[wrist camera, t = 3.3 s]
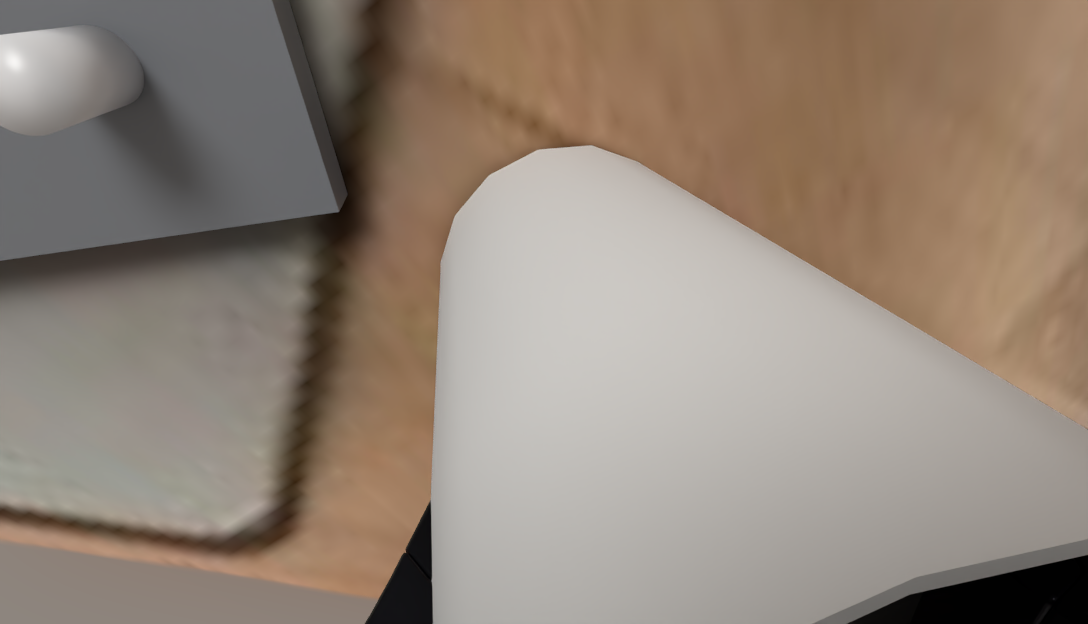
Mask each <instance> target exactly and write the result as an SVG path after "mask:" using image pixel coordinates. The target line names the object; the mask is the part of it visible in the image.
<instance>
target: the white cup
mask: <svg viewBox="0 0 1088 624" xmlns="http://www.w3.org/2000/svg"><path fill="white" fill-rule="evenodd" d="M431 533H432V581H431V582H432V596H433V624H910V622H911V620H912V617H913V615H914V613H915V610H916V608H917V606H918V603H919V601H920V598H921V596H922V594H923V592H924V591H928V590H933V589H937V588H941V587H946V586H950V585H955V584H959V583H964V582H968V581H973V580H977V579H982V578H986V577H991V576H995V575H1000V574H1004V573H1009V572H1013V571H1018V570H1022V569H1027V568H1031V567H1036V566H1040V565H1044V564H1049V563H1053V562H1058V561H1062V560H1067V559H1071V558H1076V557H1080V556H1085V555H1088V429H1086V428H1085V427H1083V426H1081V425H1079V424H1078V423H1076V422H1074V421H1073V420H1071V419H1069V418H1068V417H1066V416H1064V415H1063V414H1061V413H1059V412H1058V411H1056V410H1054V409H1053V408H1051V407H1049V406H1047V405H1046V404H1044V403H1042V402H1041V401H1039V400H1037V399H1036V398H1034V397H1032V396H1031V395H1029V394H1027V393H1026V392H1024V391H1022V390H1021V389H1019V388H1017V387H1015V386H1014V385H1012V384H1010V383H1009V382H1007V381H1005V380H1004V379H1002V378H1000V377H999V376H997V375H995V374H994V373H992V372H990V371H989V370H987V369H985V368H984V367H982V366H980V365H978V364H977V363H975V362H973V361H972V360H970V359H968V358H967V357H965V356H963V355H962V354H960V353H958V352H957V351H955V350H953V349H952V348H950V347H948V346H946V345H945V344H943V343H941V342H940V341H938V340H936V339H935V338H933V337H931V336H930V335H928V334H926V333H925V332H923V331H921V330H920V329H918V328H916V327H914V326H913V325H911V324H909V323H908V322H906V321H904V320H903V319H901V318H899V317H898V316H896V315H894V314H893V313H891V312H889V311H888V310H886V309H884V308H883V307H881V306H879V305H877V304H876V303H874V302H872V301H871V300H869V299H867V298H866V297H864V296H862V295H861V294H859V293H857V292H856V291H854V290H852V289H851V288H849V287H847V286H845V285H844V284H842V283H840V282H839V281H837V280H835V279H834V278H832V277H830V276H829V275H827V274H825V273H824V272H822V271H820V270H819V269H817V268H815V267H813V266H812V265H810V264H808V263H807V262H805V261H803V260H802V259H800V258H798V257H797V256H795V255H793V254H792V253H790V252H788V251H787V250H785V249H783V248H782V247H780V246H778V245H776V244H775V243H773V242H771V241H770V240H768V239H766V238H765V237H763V236H761V235H760V234H758V233H756V232H755V231H753V230H751V229H750V228H748V227H746V226H744V225H743V224H741V223H739V222H738V221H736V220H734V219H733V218H731V217H729V216H728V215H726V214H724V213H723V212H721V211H719V210H718V209H716V208H714V207H712V206H711V205H709V204H707V203H706V202H704V201H702V200H701V199H699V198H697V197H696V196H694V195H692V194H691V193H689V192H687V191H686V190H684V189H682V188H681V187H679V186H677V185H675V184H674V183H672V182H670V181H669V180H667V179H665V178H664V177H662V176H660V175H659V174H657V173H655V172H654V171H652V170H650V169H649V168H647V167H645V166H643V165H642V164H640V163H639V162H637V161H634V160H631V159H628V158H626V157H623V156H620V155H617V154H614V153H612V152H609V151H606V150H603V149H600V148H597V147H595V146H592V145H590V146H578V147H566V148H553V149H541V150H537V151H535V152H533V153H531V154H529V155H527V156H525V157H523V158H521V159H519V160H517V161H515V162H513V163H512V164H510V165H508V166H506V167H504V168H502V169H500V170H498V171H496V172H494V173H492V174H490V175H489V176H488V177H487V178H486V179H485V181H484V182H483V183H482V184H481V185H480V187H479V188H478V189H477V190H476V191H475V192H474V194H473V195H472V196H471V197H470V198H469V200H468V201H467V202H466V203H465V204H464V205H463V207H462V208H461V209H460V210H459V211H458V213H457V214H456V215H455V217H454V220H453V223H452V227H451V230H450V233H449V237H448V240H447V243H446V247H445V250H444V253H443V256H442V260H441V273H440V296H439V319H438V343H437V366H436V389H435V413H434V436H433V459H432V483H431Z"/></svg>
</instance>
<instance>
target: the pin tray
mask: <svg viewBox="0 0 1088 624" xmlns="http://www.w3.org/2000/svg"><path fill="white" fill-rule="evenodd" d="M347 195H348V193H347V190H346V187H345V183H344V180H343V177H342V173H341V170H340V167H339V164H338V160H337V157H336V154H335V150H334V147H333V144H332V141H331V137H330V134H329V131H328V127H327V124H326V121H325V117H324V114H323V111H322V108H321V104H320V101H319V98H318V94H317V91H316V88H315V84H314V81H313V78H312V75H311V71H310V68H309V65H308V61H307V58H306V55H305V51H304V48H303V45H302V42H301V38H300V35H299V32H298V28H297V25H296V22H295V18H294V15H293V12H292V9H291V5H290V2H289V0H0V261H2V260H9V259H16V258H23V257H30V256H37V255H44V254H50V253H57V252H64V251H71V250H78V249H85V248H92V247H99V246H106V245H113V244H120V243H127V242H134V241H141V240H148V239H154V238H161V237H168V236H175V235H182V234H189V233H196V232H203V231H210V230H217V229H224V228H231V227H238V226H245V225H252V224H258V223H265V222H272V221H279V220H286V219H293V218H300V217H307V216H314V215H321V214H328V213H335V212H339V211H340V209H341V207H342V205H343V203H344V201H345V199H346V197H347Z"/></svg>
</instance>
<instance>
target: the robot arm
mask: <svg viewBox="0 0 1088 624" xmlns="http://www.w3.org/2000/svg"><path fill="white" fill-rule="evenodd" d="M431 581H432V533H431V500H430V502H429V504H428V506H427V508H426V510H425V512H424V514H423V516H422V518H421V520H420V522H419V524H418V526H417V528H416V530H415V532H414V534H413V535H412V537H411V539H410V541H409V543H408V545H407V547H406V553H404V554H403V555H402V556H401V558H400V560H399V562H398V564H397V566H396V568H395V570H394V572H393V574H392V576H391V578H390V580H389V582H388V584H387V585H386V587H385V589H384V591H383V593H382V594H381V596H380V598H379V600H378V602H377V604H376V606H375V607H374V609H373V611H372V613H371V615H370V616H369V618H368V619H367V621H366V623H365V624H433V596H432V582H431ZM910 624H1088V555H1085V556H1080V557H1076V558H1071V559H1067V560H1062V561H1058V562H1053V563H1049V564H1044V565H1040V566H1036V567H1031V568H1027V569H1022V570H1018V571H1013V572H1009V573H1004V574H1000V575H995V576H991V577H986V578H982V579H977V580H973V581H968V582H964V583H959V584H955V585H950V586H946V587H941V588H937V589H933V590H928V591H924V592H923V594H922V596H921V598H920V601H919V603H918V606H917V608H916V610H915V613H914V615H913V617H912V620H911V622H910Z"/></svg>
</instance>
